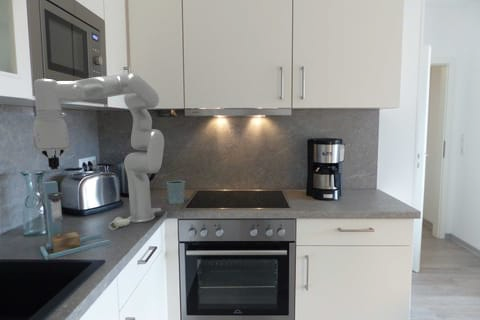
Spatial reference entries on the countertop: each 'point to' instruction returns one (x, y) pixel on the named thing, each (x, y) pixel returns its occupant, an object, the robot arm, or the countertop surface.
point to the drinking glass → (176, 191)
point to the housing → (65, 242)
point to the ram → (56, 206)
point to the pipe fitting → (118, 223)
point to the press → (60, 227)
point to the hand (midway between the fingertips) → (54, 168)
